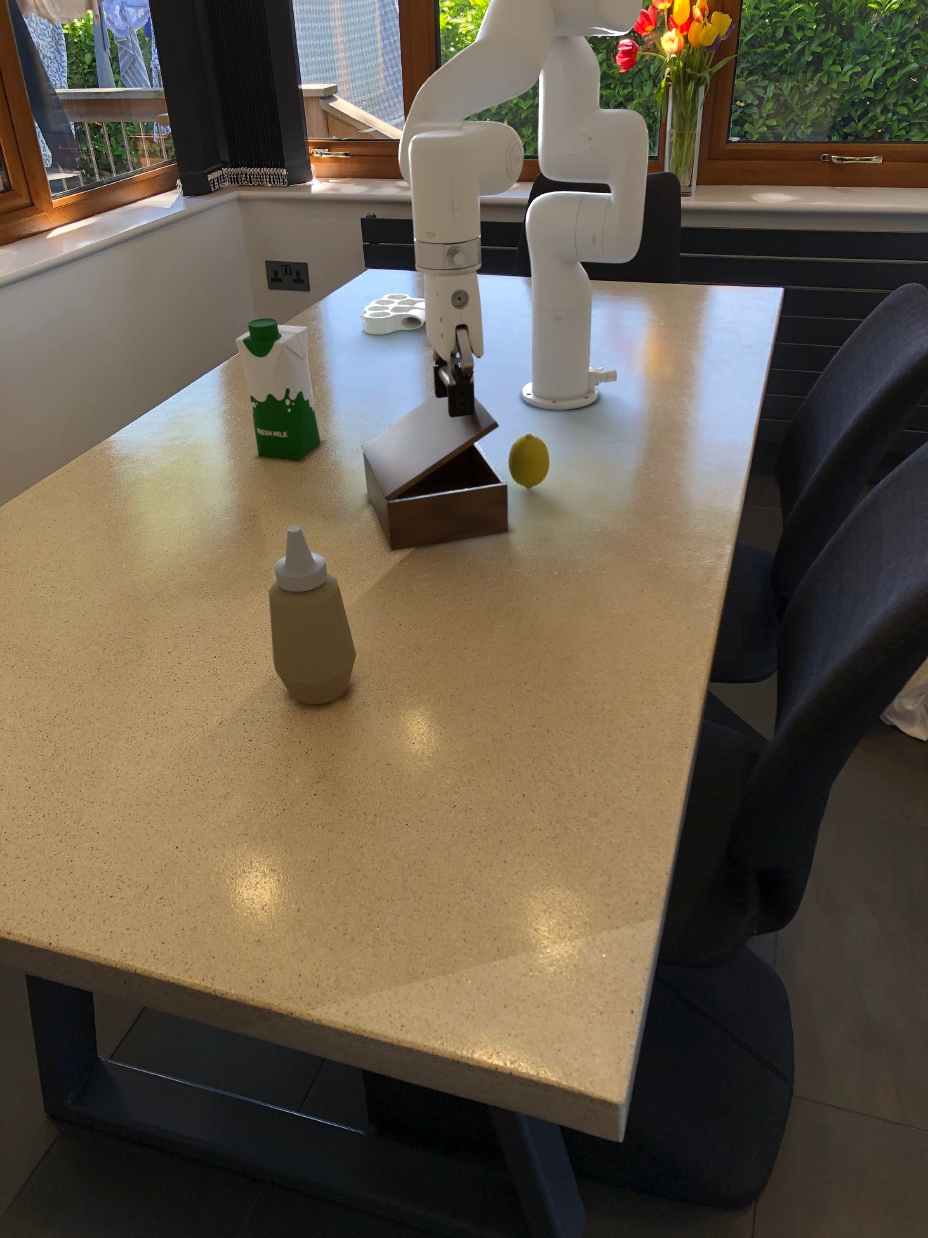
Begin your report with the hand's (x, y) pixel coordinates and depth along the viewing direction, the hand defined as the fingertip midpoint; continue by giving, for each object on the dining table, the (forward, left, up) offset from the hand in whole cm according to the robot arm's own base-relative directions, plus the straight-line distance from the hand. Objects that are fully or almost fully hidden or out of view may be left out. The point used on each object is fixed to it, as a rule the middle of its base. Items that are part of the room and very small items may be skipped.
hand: (454, 404), depth 115 cm
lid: (+4, 0, -4) cm, 5 cm away
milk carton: (+19, -28, -15) cm, 37 cm away
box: (+3, 0, -15) cm, 15 cm away
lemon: (-11, -3, -15) cm, 18 cm away
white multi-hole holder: (-10, -87, -15) cm, 88 cm away
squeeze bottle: (+23, +32, -15) cm, 43 cm away
